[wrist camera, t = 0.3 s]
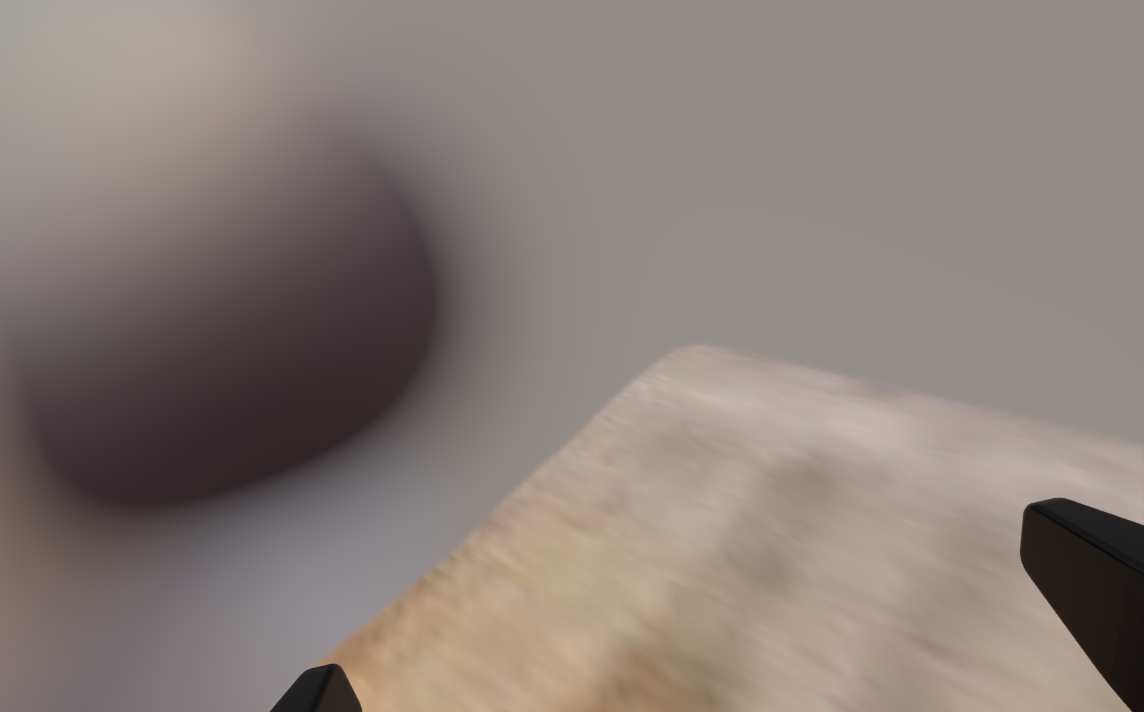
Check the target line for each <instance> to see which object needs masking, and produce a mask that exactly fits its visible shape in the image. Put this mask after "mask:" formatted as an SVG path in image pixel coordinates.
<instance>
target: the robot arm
mask: <svg viewBox="0 0 1144 712" xmlns="http://www.w3.org/2000/svg"><path fill="white" fill-rule="evenodd" d="M1020 557H1021V561H1022V564H1023V566H1024V568H1025V570H1026V572H1027V574H1028V575H1029V576H1030V578H1031V579H1032V581H1033V582H1034V583H1035V585H1036V586H1037V587H1038V589H1039V590H1040V592H1041V593H1042V594H1043V596H1044V597H1045V598H1046V600H1047V601H1048V603H1049V604H1050V605H1051V607H1052V608H1053V610H1054V611H1055V612H1056V614H1057V615H1058V616H1059V618H1060V619H1061V621H1062V622H1063V623H1064V625H1065V626H1066V627H1067V629H1068V630H1069V632H1070V633H1071V634H1072V636H1073V637H1074V638H1075V640H1076V641H1077V643H1078V644H1079V645H1080V647H1081V648H1082V649H1083V651H1084V652H1085V654H1086V655H1087V656H1088V658H1089V659H1090V660H1091V662H1092V663H1093V665H1094V666H1095V667H1096V668H1097V670H1098V671H1099V672H1100V674H1101V675H1102V676H1103V678H1104V679H1105V680H1106V681H1107V683H1108V684H1109V685H1110V686H1111V688H1112V689H1113V690H1114V691H1115V692H1116V694H1117V695H1118V696H1119V697H1120V698H1121V700H1122V701H1123V702H1124V703H1125V704H1126V706H1127V707H1128V708H1129V709H1130V710H1131V711H1132V712H1144V525H1142V524H1139V523H1136V522H1133V521H1130V520H1127V519H1124V518H1121V517H1118V516H1116V515H1113V514H1110V513H1107V512H1104V511H1101V510H1098V509H1095V508H1092V507H1089V506H1086V505H1084V504H1081V503H1078V502H1075V501H1072V500H1069V499H1065V498H1052V499H1048V500H1043V501H1039V502H1035V503H1031V504H1029V505H1028V506H1027V507H1026V508H1025V510H1024V513H1023V522H1022V534H1021V545H1020ZM270 712H362V708H361V705H360V702H359V700H358V698H357V696H356V694H355V692H354V690H353V688H352V686H351V684H350V682H349V680H348V678H347V676H346V674H345V672H344V671H343V669H342V668H341V667H340V666H339V665H338V664H328V665H324V666H320V667H315V668H311V669H308V670H306V671H305V672H303V673H302V674H301V675H300V676H299V677H298V679H297V680H296V681H295V682H294V683H293V685H292V686H291V687H290V688H289V689H288V691H287V692H286V693H285V694H284V695H283V696H282V698H281V699H280V700H279V701H278V702H277V704H276V705H275V706H274V707H273V708H272V710H271V711H270Z"/></svg>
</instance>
